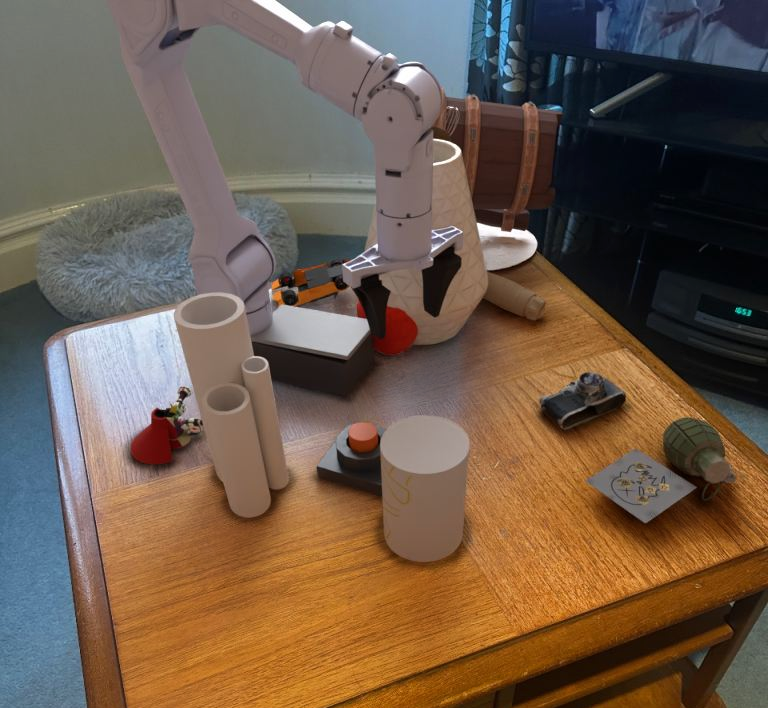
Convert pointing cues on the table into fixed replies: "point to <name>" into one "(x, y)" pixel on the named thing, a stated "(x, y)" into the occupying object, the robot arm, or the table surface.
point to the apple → (394, 331)
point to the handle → (514, 297)
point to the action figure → (165, 432)
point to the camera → (582, 400)
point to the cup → (424, 486)
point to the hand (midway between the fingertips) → (405, 323)
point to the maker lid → (314, 332)
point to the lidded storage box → (318, 367)
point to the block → (353, 464)
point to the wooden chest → (503, 157)
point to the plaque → (505, 246)
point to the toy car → (309, 284)
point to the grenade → (697, 451)
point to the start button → (363, 437)
